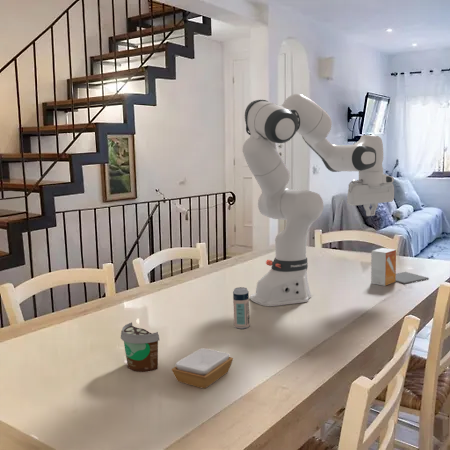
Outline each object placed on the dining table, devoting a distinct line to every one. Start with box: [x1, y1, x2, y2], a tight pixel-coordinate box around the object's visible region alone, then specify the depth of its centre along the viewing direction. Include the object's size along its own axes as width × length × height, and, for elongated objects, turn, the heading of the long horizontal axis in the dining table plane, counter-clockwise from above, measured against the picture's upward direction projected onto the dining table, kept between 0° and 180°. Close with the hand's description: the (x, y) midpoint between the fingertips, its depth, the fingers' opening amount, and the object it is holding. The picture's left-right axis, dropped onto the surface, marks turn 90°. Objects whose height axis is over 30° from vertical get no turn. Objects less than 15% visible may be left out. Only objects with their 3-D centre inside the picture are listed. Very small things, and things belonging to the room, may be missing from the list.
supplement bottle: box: [232, 286, 250, 330], centre depth 157 cm, size 5×5×12 cm
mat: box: [394, 271, 430, 285], centre depth 207 cm, size 13×12×1 cm
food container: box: [120, 322, 160, 373], centre depth 131 cm, size 12×6×10 cm, turn 45°
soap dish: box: [171, 347, 234, 389], centre depth 124 cm, size 12×10×5 cm
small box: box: [370, 247, 397, 287], centre depth 201 cm, size 8×6×13 cm
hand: (370, 215), depth 195 cm, fingers closed
